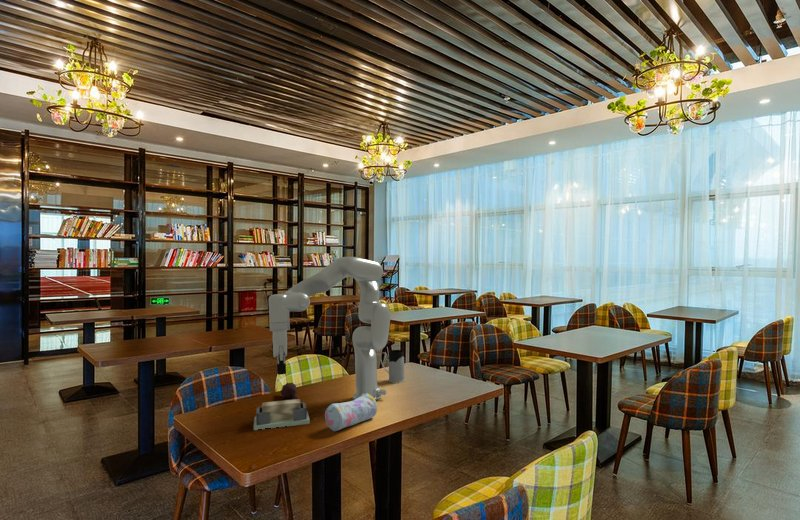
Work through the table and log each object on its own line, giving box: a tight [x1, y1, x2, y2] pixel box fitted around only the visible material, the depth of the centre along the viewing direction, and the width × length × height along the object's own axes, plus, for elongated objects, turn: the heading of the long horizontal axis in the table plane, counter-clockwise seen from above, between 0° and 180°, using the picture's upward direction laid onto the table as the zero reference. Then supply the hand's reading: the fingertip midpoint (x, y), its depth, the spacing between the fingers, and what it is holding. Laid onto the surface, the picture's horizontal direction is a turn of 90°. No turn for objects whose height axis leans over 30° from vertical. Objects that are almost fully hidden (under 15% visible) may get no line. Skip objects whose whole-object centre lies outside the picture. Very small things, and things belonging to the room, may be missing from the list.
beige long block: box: [261, 398, 301, 422], centre depth 175 cm, size 14×5×6 cm, turn 105°
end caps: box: [255, 401, 308, 425], centre depth 175 cm, size 18×9×4 cm, turn 106°
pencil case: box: [324, 393, 378, 432], centre depth 171 cm, size 21×9×10 cm, turn 142°
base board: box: [253, 411, 311, 431], centre depth 175 cm, size 20×11×2 cm, turn 106°
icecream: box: [280, 382, 299, 400], centre depth 209 cm, size 7×7×15 cm
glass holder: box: [379, 349, 406, 384], centre depth 235 cm, size 9×14×15 cm, turn 57°
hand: (281, 373), depth 178 cm, fingers closed
